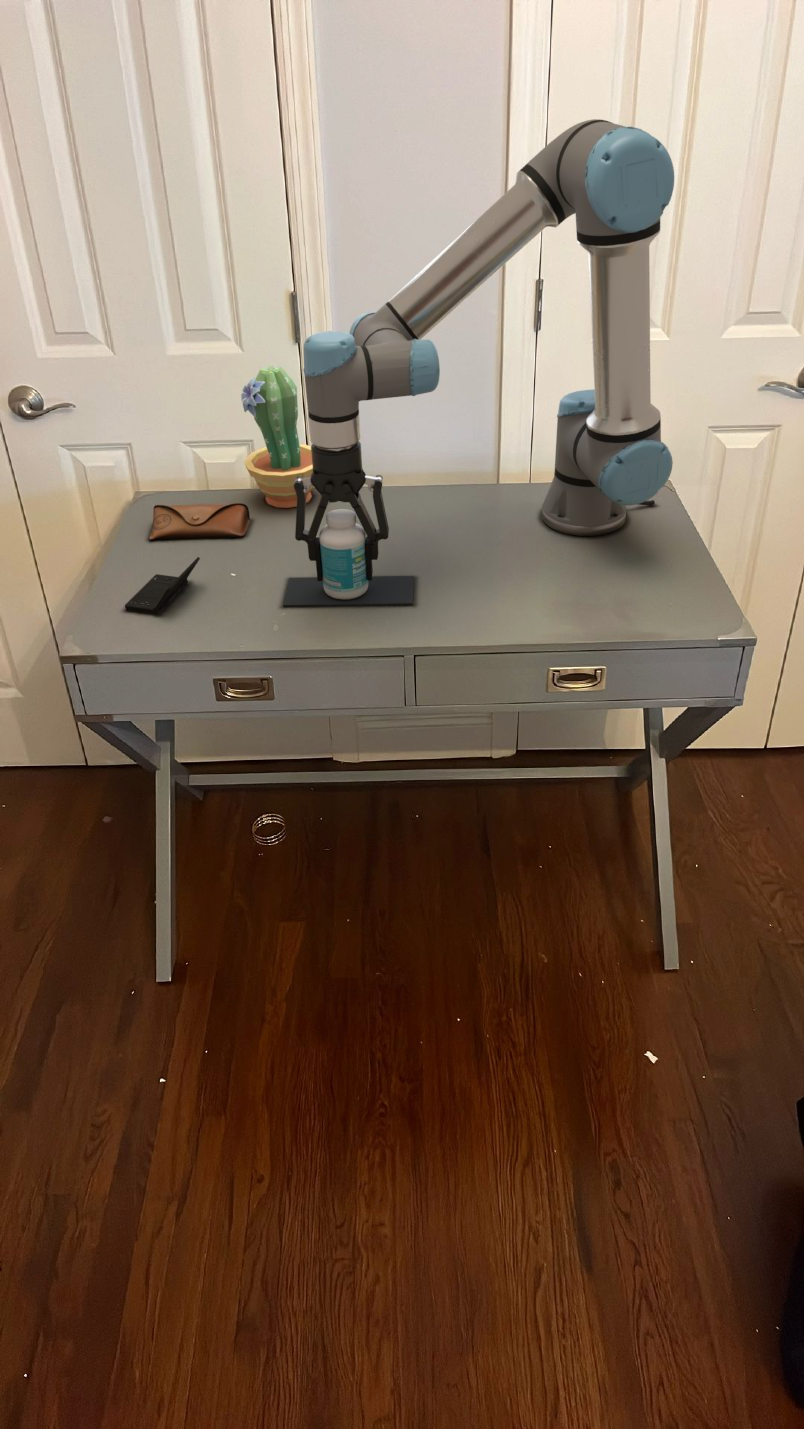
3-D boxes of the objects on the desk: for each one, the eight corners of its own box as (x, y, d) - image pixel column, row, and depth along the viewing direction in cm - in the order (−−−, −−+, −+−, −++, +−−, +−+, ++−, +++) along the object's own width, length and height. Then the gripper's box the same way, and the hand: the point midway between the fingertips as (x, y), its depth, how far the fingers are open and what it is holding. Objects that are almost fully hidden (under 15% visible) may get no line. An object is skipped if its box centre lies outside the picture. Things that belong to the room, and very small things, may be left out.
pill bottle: (363, 603, 161) (358, 527, 152) (318, 600, 162) (311, 524, 154) (373, 580, 166) (368, 506, 158) (330, 577, 168) (324, 503, 160)
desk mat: (413, 577, 168) (413, 575, 167) (412, 605, 160) (412, 603, 160) (289, 579, 168) (289, 577, 168) (283, 607, 161) (283, 605, 161)
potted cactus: (251, 483, 200) (235, 357, 185) (328, 479, 201) (317, 353, 186) (246, 517, 188) (228, 385, 173) (328, 512, 188) (317, 381, 173)
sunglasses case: (146, 540, 181) (144, 502, 180) (156, 542, 188) (154, 506, 187) (245, 536, 181) (243, 499, 180) (251, 539, 188) (249, 503, 187)
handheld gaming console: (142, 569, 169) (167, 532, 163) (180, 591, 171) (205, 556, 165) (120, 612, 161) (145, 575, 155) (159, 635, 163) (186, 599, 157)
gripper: (403, 431, 151) (407, 564, 165) (271, 433, 152) (286, 566, 166) (402, 450, 145) (406, 587, 159) (264, 453, 146) (280, 588, 160)
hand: (345, 576), depth 163 cm, fingers closed on pill bottle, 7 cm apart
